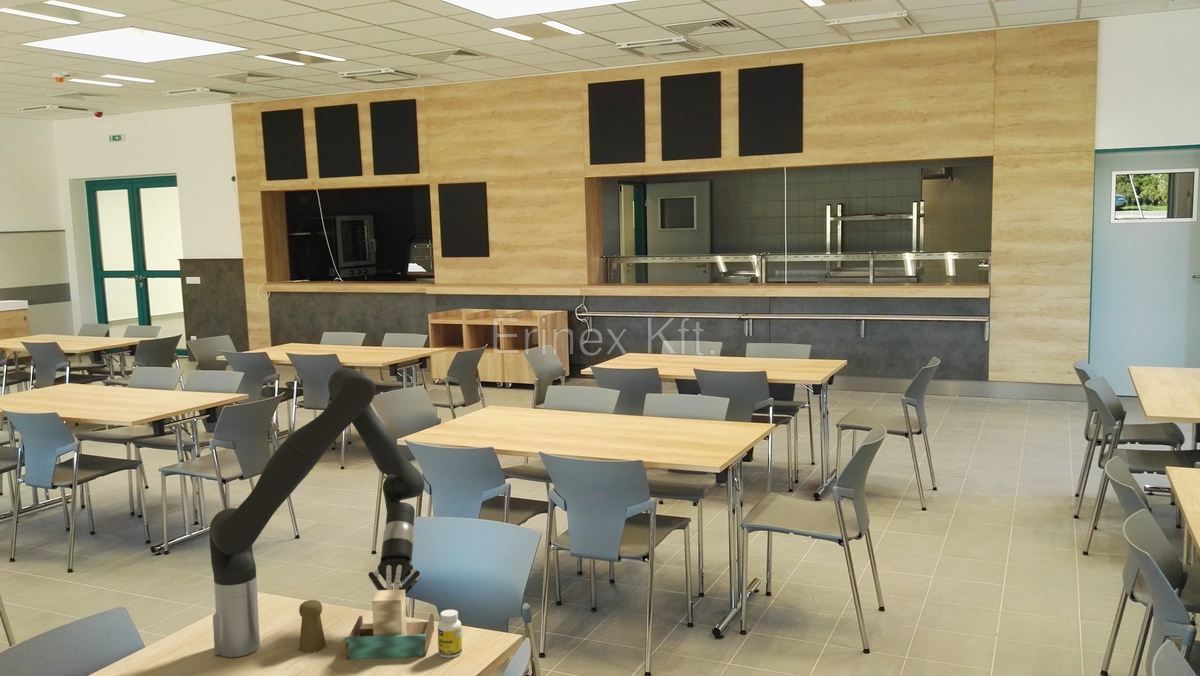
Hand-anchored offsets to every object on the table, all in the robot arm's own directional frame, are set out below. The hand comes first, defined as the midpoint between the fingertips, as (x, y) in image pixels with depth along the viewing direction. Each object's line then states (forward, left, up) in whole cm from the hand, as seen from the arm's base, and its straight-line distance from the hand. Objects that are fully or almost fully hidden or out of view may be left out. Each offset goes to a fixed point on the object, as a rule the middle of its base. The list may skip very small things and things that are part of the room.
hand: (391, 610), depth 223 cm
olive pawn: (-19, -1, -8) cm, 20 cm away
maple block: (0, -4, -6) cm, 7 cm away
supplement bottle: (+14, -7, -8) cm, 18 cm away
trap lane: (0, -1, -8) cm, 8 cm away
